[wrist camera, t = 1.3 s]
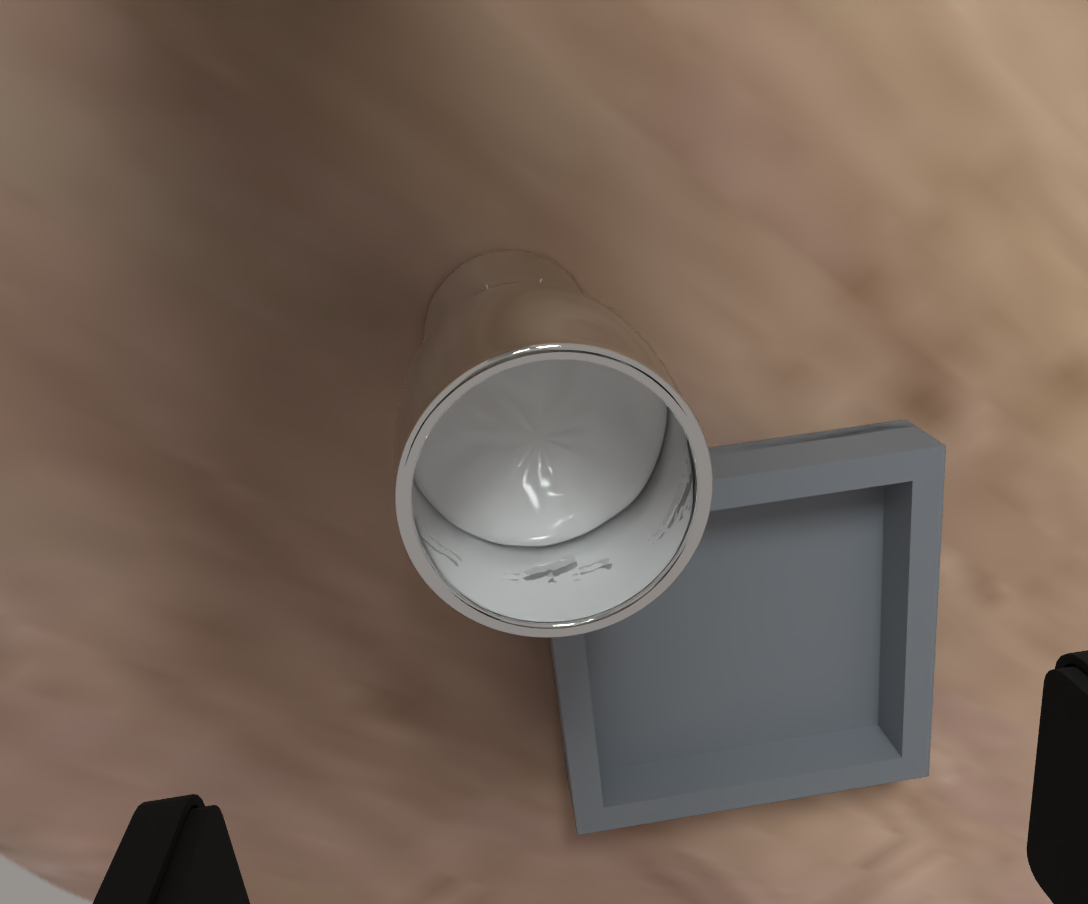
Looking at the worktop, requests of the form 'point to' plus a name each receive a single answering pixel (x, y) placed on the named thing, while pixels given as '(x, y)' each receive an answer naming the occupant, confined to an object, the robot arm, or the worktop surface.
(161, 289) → the worktop surface
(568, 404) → the beer glass
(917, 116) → the worktop surface
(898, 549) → the slate tray
